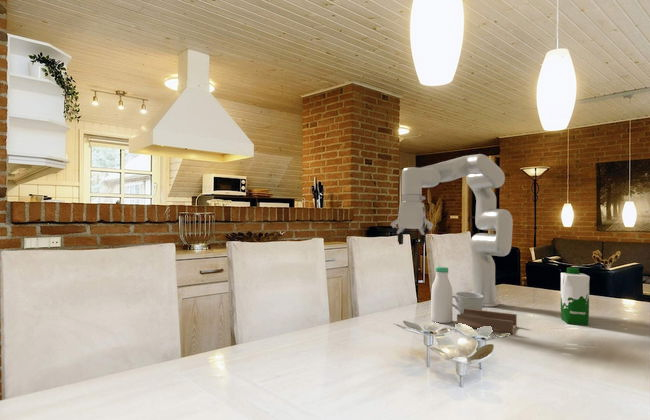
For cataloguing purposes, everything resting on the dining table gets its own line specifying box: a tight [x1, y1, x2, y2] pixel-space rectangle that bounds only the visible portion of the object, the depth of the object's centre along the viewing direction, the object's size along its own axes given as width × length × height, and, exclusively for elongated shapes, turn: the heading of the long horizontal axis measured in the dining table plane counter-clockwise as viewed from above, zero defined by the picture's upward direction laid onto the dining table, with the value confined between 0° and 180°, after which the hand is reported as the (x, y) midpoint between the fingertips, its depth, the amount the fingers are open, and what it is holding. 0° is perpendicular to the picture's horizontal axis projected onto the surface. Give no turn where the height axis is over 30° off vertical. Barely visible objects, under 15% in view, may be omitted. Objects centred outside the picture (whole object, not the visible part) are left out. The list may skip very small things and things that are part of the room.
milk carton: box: [560, 266, 591, 326], centre depth 158 cm, size 9×9×20 cm
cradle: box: [456, 308, 518, 336], centre depth 150 cm, size 12×18×4 cm
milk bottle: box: [430, 266, 453, 324], centre depth 158 cm, size 8×8×20 cm
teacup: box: [452, 291, 484, 315], centre depth 170 cm, size 14×11×8 cm
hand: (411, 244), depth 164 cm, fingers open, 7 cm apart
